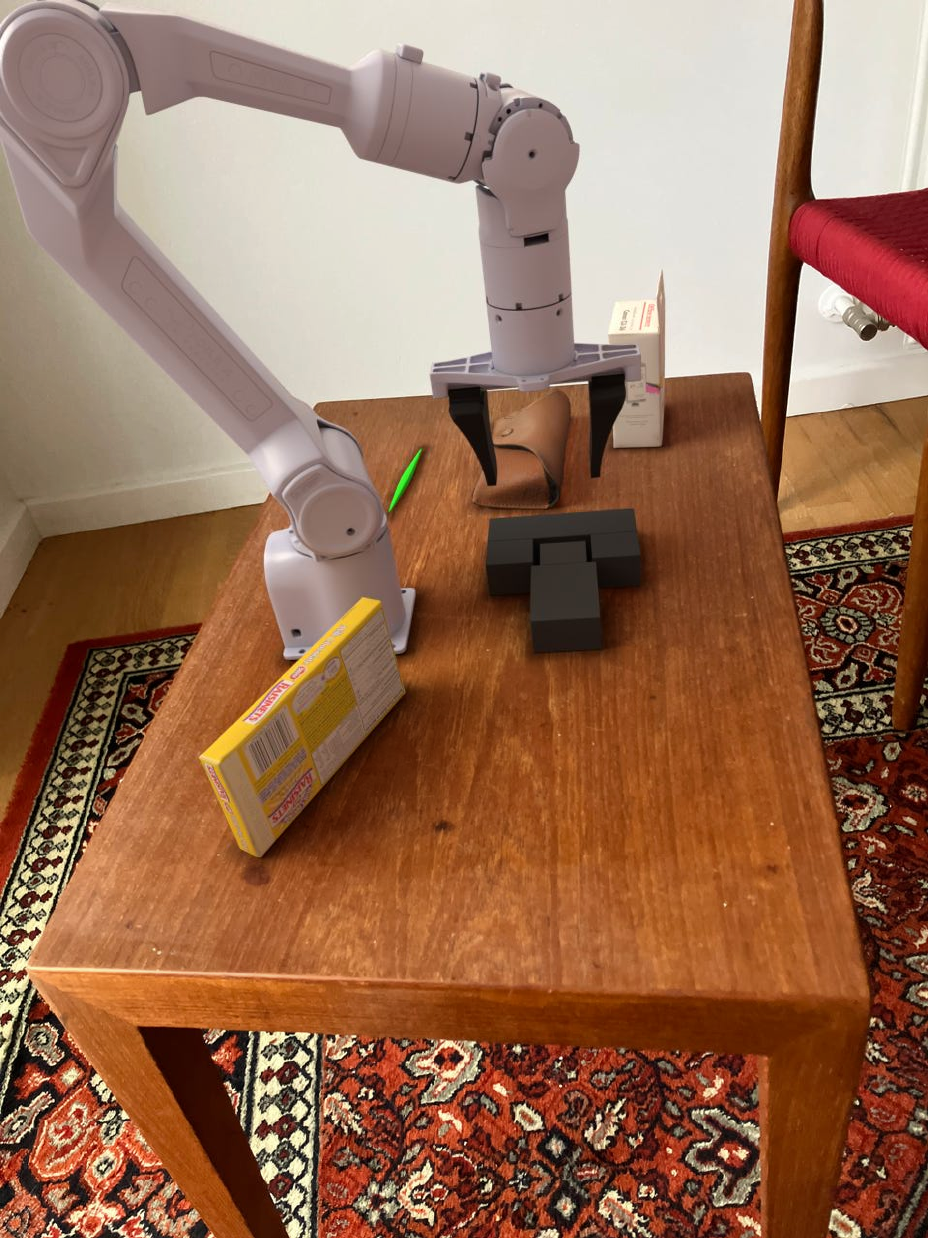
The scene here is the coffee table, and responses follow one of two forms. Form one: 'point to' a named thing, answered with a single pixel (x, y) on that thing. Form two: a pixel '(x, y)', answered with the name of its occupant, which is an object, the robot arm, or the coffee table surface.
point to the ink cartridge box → (642, 370)
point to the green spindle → (405, 481)
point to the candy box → (304, 727)
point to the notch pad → (522, 535)
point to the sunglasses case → (529, 455)
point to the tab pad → (564, 600)
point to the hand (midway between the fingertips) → (543, 475)
